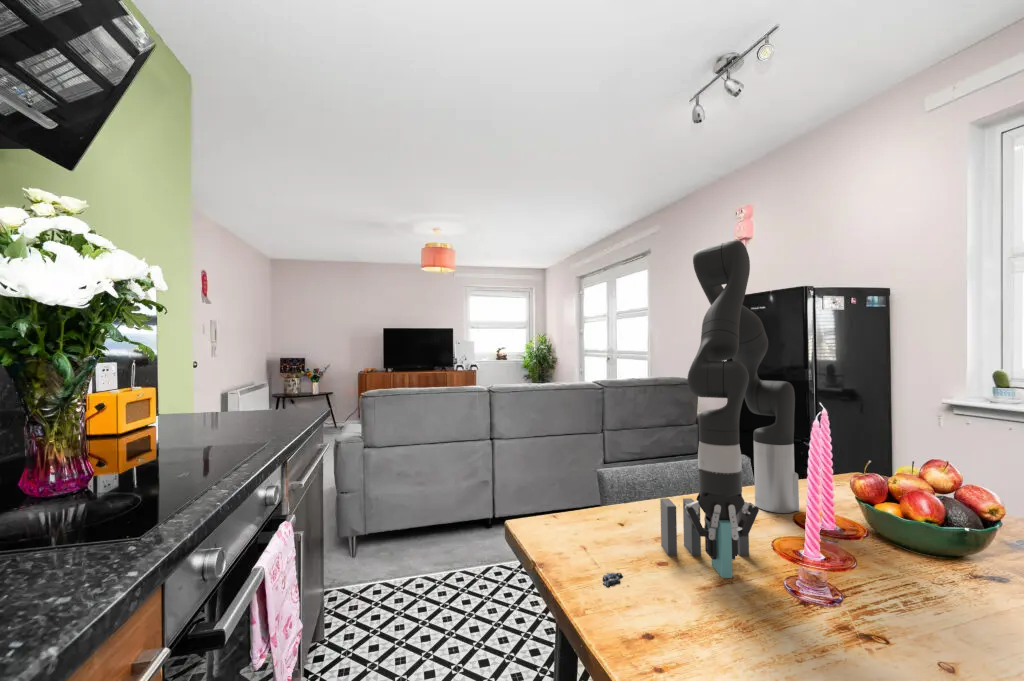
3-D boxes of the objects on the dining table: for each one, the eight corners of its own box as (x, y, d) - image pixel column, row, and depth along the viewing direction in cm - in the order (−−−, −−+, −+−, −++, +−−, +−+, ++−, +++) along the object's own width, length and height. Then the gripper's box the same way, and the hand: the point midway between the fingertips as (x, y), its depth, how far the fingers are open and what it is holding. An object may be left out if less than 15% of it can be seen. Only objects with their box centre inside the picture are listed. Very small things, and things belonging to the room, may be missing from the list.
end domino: (721, 565, 89) (720, 513, 90) (732, 578, 84) (731, 523, 85) (711, 565, 89) (710, 513, 90) (722, 577, 84) (721, 523, 85)
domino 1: (669, 545, 99) (668, 498, 99) (677, 555, 94) (676, 506, 94) (661, 545, 99) (660, 498, 99) (668, 555, 94) (667, 506, 94)
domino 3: (738, 545, 98) (737, 498, 98) (749, 556, 93) (748, 506, 93) (729, 545, 98) (728, 498, 98) (740, 556, 93) (739, 506, 93)
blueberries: (639, 582, 85) (639, 571, 85) (623, 598, 78) (624, 586, 79) (605, 573, 89) (605, 562, 89) (587, 587, 82) (587, 576, 82)
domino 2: (692, 545, 98) (691, 498, 99) (701, 555, 93) (700, 506, 94) (683, 545, 99) (682, 498, 99) (692, 555, 94) (691, 506, 94)
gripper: (747, 461, 91) (749, 549, 90) (675, 461, 91) (677, 549, 91) (767, 471, 83) (769, 567, 83) (688, 471, 84) (690, 566, 84)
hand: (721, 557), depth 87 cm, fingers open, 3 cm apart
